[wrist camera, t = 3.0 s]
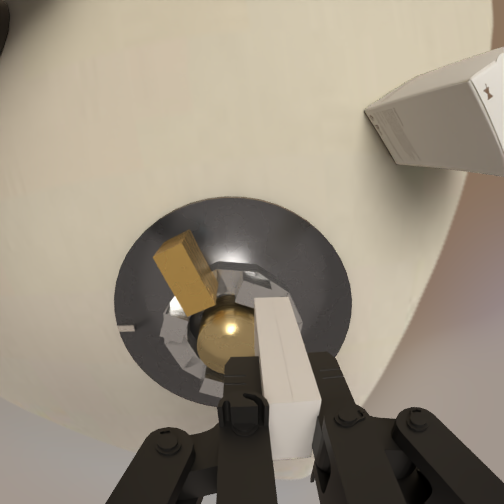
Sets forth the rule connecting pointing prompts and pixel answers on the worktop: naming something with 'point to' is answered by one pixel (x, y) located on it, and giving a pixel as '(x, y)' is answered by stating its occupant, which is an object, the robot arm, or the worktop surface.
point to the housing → (226, 309)
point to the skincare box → (447, 117)
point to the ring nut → (206, 299)
